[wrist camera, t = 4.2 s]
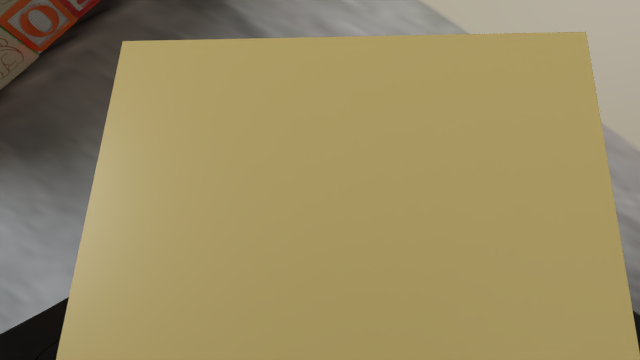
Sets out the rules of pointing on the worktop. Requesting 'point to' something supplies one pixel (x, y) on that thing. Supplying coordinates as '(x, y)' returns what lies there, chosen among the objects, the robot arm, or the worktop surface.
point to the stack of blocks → (33, 30)
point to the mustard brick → (352, 204)
